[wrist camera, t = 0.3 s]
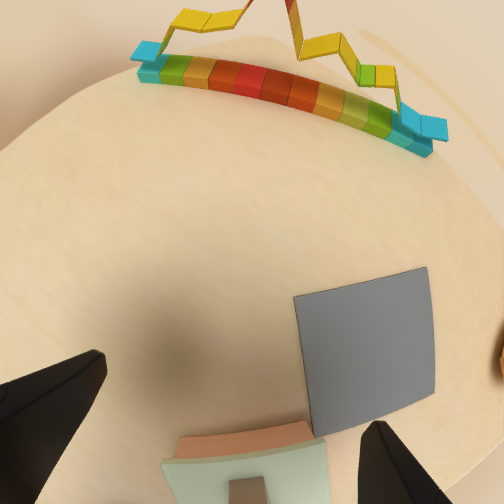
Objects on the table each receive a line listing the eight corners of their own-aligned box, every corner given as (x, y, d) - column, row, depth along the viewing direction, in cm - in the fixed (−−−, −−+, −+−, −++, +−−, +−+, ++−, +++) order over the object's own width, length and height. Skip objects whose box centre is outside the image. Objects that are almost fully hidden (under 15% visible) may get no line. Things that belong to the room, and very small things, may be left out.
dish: (314, 495, 20) (324, 522, 15) (209, 510, 19) (206, 538, 15) (304, 418, 21) (317, 443, 17) (181, 435, 20) (171, 463, 16)
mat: (432, 391, 21) (434, 393, 21) (313, 436, 21) (314, 438, 20) (424, 267, 23) (427, 266, 22) (293, 297, 22) (294, 297, 21)
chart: (422, 135, 25) (507, 61, 10) (423, 158, 24) (519, 88, 9) (154, 63, 24) (118, -43, 9) (141, 83, 24) (94, -25, 9)
